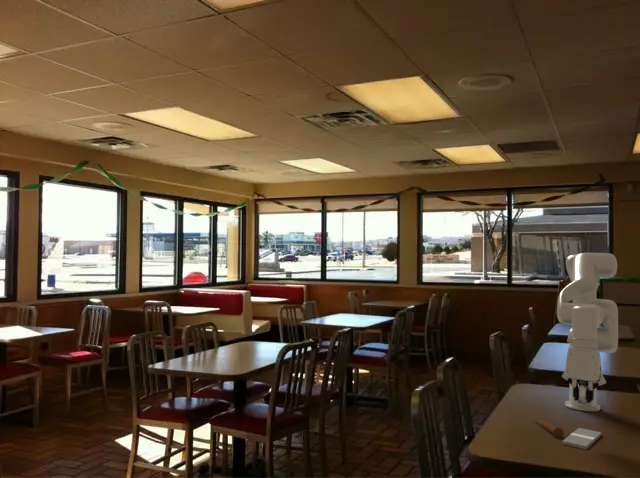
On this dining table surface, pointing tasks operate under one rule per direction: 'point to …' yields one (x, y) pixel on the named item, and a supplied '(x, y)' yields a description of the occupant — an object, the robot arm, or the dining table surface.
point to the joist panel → (582, 438)
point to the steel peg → (582, 391)
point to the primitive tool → (550, 427)
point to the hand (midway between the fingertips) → (583, 400)
